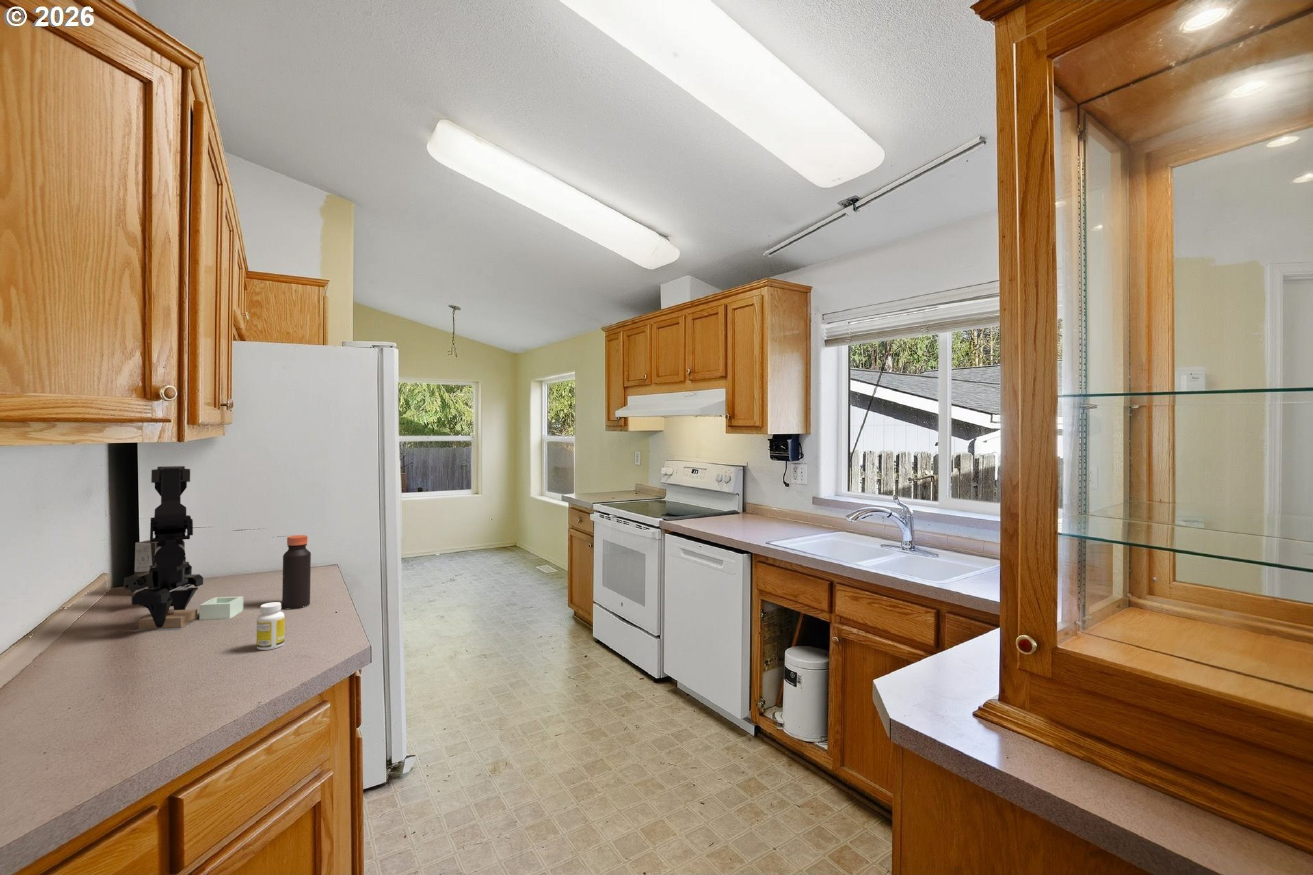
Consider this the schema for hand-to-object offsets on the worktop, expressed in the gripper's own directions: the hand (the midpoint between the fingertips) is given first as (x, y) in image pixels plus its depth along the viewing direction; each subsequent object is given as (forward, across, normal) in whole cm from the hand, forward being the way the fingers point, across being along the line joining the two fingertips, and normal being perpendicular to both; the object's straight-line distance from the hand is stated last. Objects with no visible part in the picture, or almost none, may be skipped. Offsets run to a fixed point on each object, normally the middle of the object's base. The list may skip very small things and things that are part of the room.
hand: (168, 622), depth 144 cm
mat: (+1, 0, 0) cm, 1 cm away
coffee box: (+1, -36, -23) cm, 43 cm away
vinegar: (+1, -14, +24) cm, 28 cm away
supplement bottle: (+1, +19, +31) cm, 36 cm away
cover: (0, 0, 0) cm, 0 cm away
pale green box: (+1, -6, +9) cm, 11 cm away
